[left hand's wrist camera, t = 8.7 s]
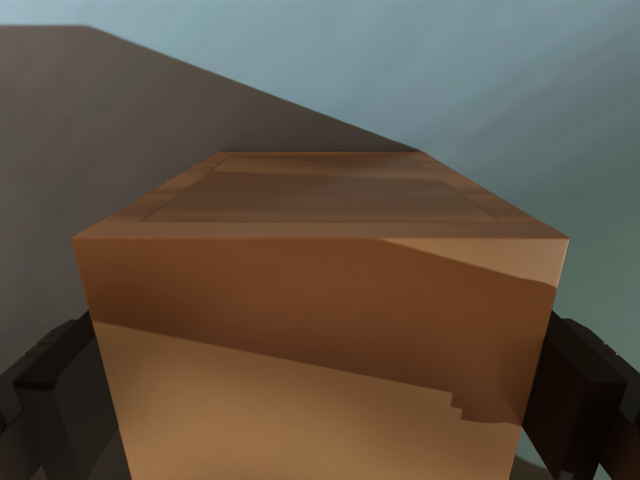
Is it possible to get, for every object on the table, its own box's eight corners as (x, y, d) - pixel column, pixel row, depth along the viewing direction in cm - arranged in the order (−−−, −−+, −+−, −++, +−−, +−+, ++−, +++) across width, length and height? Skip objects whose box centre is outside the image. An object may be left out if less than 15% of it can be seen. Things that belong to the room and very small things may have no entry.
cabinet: (393, 462, 26) (445, 728, 15) (246, 462, 26) (194, 728, 15) (423, 151, 19) (571, 238, 8) (216, 151, 19) (68, 237, 8)
